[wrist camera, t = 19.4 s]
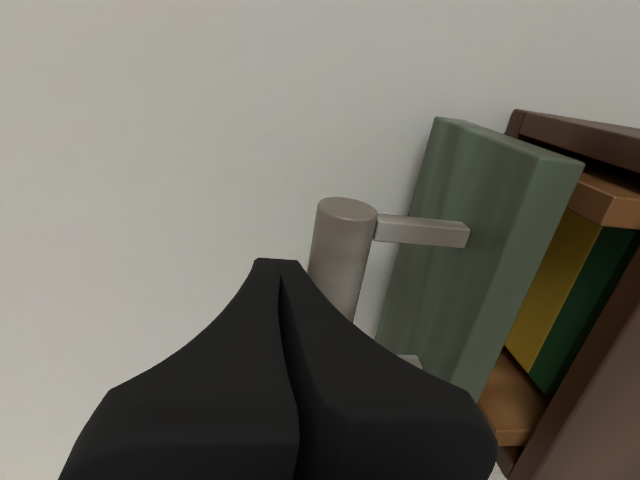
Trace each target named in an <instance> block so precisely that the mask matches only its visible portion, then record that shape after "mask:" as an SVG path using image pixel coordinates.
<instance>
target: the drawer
mask: <svg viewBox="0 0 640 480" xmlns="http://www.w3.org/2000/svg"><path fill="white" fill-rule="evenodd" d="M566 208H567V209H569V210H571V211H573V212H574V213H576V214H578V215H580V216H582V217H584V218H586V219H588V220H590V221H592V222H594V223H595V224H597V225H599V226H605V227H615V228H625V229H635V230H640V174H639V173H636V172H633V171H630V170H627V169H624V168H621V167H618V166H615V165H612V164H609V163H606V162H602V161H595V160H588V159H580V158H573V157H567V156H564V155H561V154H558V153H555V152H552V151H549V150H547V149H544V148H541V147H538V146H535V145H532V144H530V143H527V142H524V141H521V140H518V139H515V138H513V137H510V136H507V135H504V134H501V133H498V132H495V131H493V130H490V129H487V128H484V127H481V126H478V125H476V124H473V123H470V122H467V121H464V120H457V119H451V118H444V117H435V118H434V122H433V126H432V129H431V133H430V137H429V140H428V144H427V148H426V152H425V155H424V159H423V163H422V166H421V170H420V174H419V178H418V181H417V185H416V189H415V192H414V196H413V200H412V203H411V207H410V211H409V215H408V217H406V216H396V215H386V214H377V211H376V210H375V209H374V208H373V207H372V206H370V205H368V204H366V203H363V202H361V201H358V200H354V199H349V198H341V197H332V198H325V199H322V200H321V201H320V202H319V203H318V207H317V213H316V219H315V226H314V232H313V238H312V244H311V251H310V257H309V263H308V270H307V274H308V276H309V277H310V278H311V280H312V281H313V282H314V284H315V285H316V286H317V287H318V289H319V290H320V291H321V292H322V293H323V294H324V296H325V297H326V298H327V299H328V300H329V301H330V302H331V303H332V304H333V305H334V306H335V307H336V309H337V310H338V311H339V312H340V313H341V314H343V315H344V316H345V317H346V318H347V319H348V320H349V321H350V322H351V323H353V320H354V315H355V311H356V307H357V302H358V298H359V294H360V290H361V285H362V281H363V277H364V272H365V268H366V264H367V260H368V255H369V251H370V247H371V242H372V238H373V240H374V241H381V242H393V243H401V244H400V248H399V252H398V255H397V259H396V263H395V267H394V270H393V274H392V278H391V281H390V285H389V289H388V293H387V296H386V300H385V304H384V307H383V311H382V315H381V319H380V322H379V326H378V330H377V333H376V337H375V341H376V342H377V343H379V344H380V345H382V346H383V347H385V348H386V349H388V350H389V351H390V352H392V353H394V354H395V355H397V356H399V357H400V358H402V359H404V360H405V361H407V362H409V363H411V364H413V365H414V366H416V367H418V368H420V369H422V370H423V371H425V372H427V373H429V374H431V375H434V376H436V377H438V378H440V379H442V380H445V381H447V382H449V383H451V384H453V385H456V386H458V387H460V388H462V389H464V390H466V391H468V392H469V394H470V395H471V396H472V398H473V399H474V401H475V402H476V404H477V406H478V407H479V409H480V410H481V412H482V414H483V415H484V417H485V419H486V421H487V422H488V424H489V426H490V427H491V429H492V431H493V433H494V435H495V437H496V439H497V441H498V446H526V444H527V443H528V441H529V439H530V437H531V436H532V434H533V432H534V430H535V429H536V427H537V425H538V423H539V421H540V420H541V418H542V416H543V414H544V413H545V411H546V409H547V407H548V406H549V404H550V402H551V400H552V398H553V397H554V395H555V394H544V393H543V392H542V391H541V389H540V388H539V387H538V386H537V385H536V383H535V382H534V381H533V380H532V378H531V377H530V376H529V373H527V372H526V371H525V370H524V369H523V367H522V366H521V365H520V364H519V362H518V361H517V360H516V359H515V358H514V356H513V355H512V354H511V353H510V351H509V350H508V349H507V348H506V347H505V345H504V344H505V342H506V339H507V337H508V335H509V333H510V331H511V328H512V326H513V324H514V322H515V320H516V317H517V315H518V313H519V311H520V309H521V306H522V304H523V302H524V300H525V298H526V295H527V293H528V291H529V289H530V287H531V284H532V282H533V280H534V278H535V276H536V273H537V271H538V269H539V267H540V265H541V262H542V260H543V258H544V256H545V254H546V251H547V249H548V247H549V245H550V243H551V240H552V238H553V236H554V234H555V232H556V229H557V227H558V225H559V223H560V221H561V218H562V216H563V214H564V212H565V210H566Z"/></svg>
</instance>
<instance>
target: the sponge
mask: <svg viewBox="0 0 640 480" xmlns="http://www.w3.org/2000/svg"><path fill="white" fill-rule="evenodd" d="M639 245H640V230H635V229H625V228H615V227H605V226H599V225H597V224H595V223H594V222H592V221H590V220H588V219H586V218H584V217H582V216H580V215H578V214H576V213H574V212H573V211H571V210H569V209H567V208H566V210H565V212H564V214H563V216H562V218H561V221H560V223H559V225H558V227H557V229H556V232H555V234H554V236H553V238H552V240H551V243H550V245H549V247H548V249H547V251H546V254H545V256H544V258H543V260H542V262H541V265H540V267H539V269H538V271H537V273H536V276H535V278H534V280H533V282H532V284H531V287H530V289H529V291H528V293H527V295H526V298H525V300H524V302H523V304H522V306H521V309H520V311H519V313H518V315H517V317H516V320H515V322H514V324H513V326H512V328H511V331H510V333H509V335H508V337H507V339H506V342H505V344H504V345H505V347H506V348H507V349H508V350H509V351H510V353H511V354H512V355H513V356H514V358H515V359H516V360H517V361H518V362H519V364H520V365H521V366H522V367H523V369H524V370H525V371H526V372H527V373H529V376H530V377H531V378H532V380H533V381H534V382H535V383H536V385H537V386H538V387H539V388H540V389H541V391H542V392H543V393H544V394H555V393H556V391H557V390H558V388H559V386H560V384H561V383H562V381H563V379H564V377H565V376H566V374H567V372H568V370H569V368H570V367H571V365H572V363H573V361H574V360H575V358H576V356H577V354H578V353H579V351H580V349H581V347H582V346H583V344H584V342H585V340H586V338H587V337H588V335H589V333H590V331H591V330H592V328H593V326H594V324H595V323H596V321H597V319H598V317H599V316H600V314H601V312H602V310H603V308H604V307H605V305H606V303H607V301H608V300H609V298H610V296H611V294H612V293H613V291H614V289H615V287H616V286H617V284H618V282H619V280H620V278H621V277H622V275H623V273H624V271H625V270H626V268H627V266H628V264H629V263H630V261H631V259H632V257H633V255H634V254H635V252H636V250H637V248H638V247H639Z"/></svg>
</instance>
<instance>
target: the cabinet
mask: <svg viewBox="0 0 640 480" xmlns="http://www.w3.org/2000/svg"><path fill="white" fill-rule="evenodd" d="M505 135H507V136H510V137H513V138H515V139H518V140H521V141H524V142H527V143H530V144H532V145H535V146H538V147H541V148H544V149H547V150H549V151H552V152H555V153H558V154H561V155H564V156H567V157H573V158H580V159H588V160H595V161H602V162H606V163H609V164H612V165H615V166H618V167H621V168H624V169H627V170H630V171H633V172H636V173H639V174H640V129H638V128H632V127H625V126H619V125H613V124H607V123H600V122H594V121H588V120H582V119H575V118H569V117H563V116H557V115H550V114H544V113H538V112H532V111H525V110H519V109H515V110H514V111H513V114H512V117H511V120H510V122H509V125H508V128H507V131H506V134H505ZM496 462H497V464H498V466H499V468H500V469H501V471H502V473H503V475H504V477H505V478H507V480H640V245H639V247H638V248H637V250H636V252H635V254H634V255H633V257H632V259H631V261H630V263H629V264H628V266H627V268H626V270H625V271H624V273H623V275H622V277H621V278H620V280H619V282H618V284H617V286H616V287H615V289H614V291H613V293H612V294H611V296H610V298H609V300H608V301H607V303H606V305H605V307H604V308H603V310H602V312H601V314H600V316H599V317H598V319H597V321H596V323H595V324H594V326H593V328H592V330H591V331H590V333H589V335H588V337H587V338H586V340H585V342H584V344H583V346H582V347H581V349H580V351H579V353H578V354H577V356H576V358H575V360H574V361H573V363H572V365H571V367H570V368H569V370H568V372H567V374H566V376H565V377H564V379H563V381H562V383H561V384H560V386H559V388H558V390H557V391H556V393H555V395H554V397H553V398H552V400H551V402H550V404H549V406H548V407H547V409H546V411H545V413H544V414H543V416H542V418H541V420H540V421H539V423H538V425H537V427H536V429H535V430H534V432H533V434H532V436H531V437H530V439H529V441H528V443H527V444H526V446H498V456H497V459H496Z"/></svg>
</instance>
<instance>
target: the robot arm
mask: <svg viewBox="0 0 640 480" xmlns="http://www.w3.org/2000/svg"><path fill="white" fill-rule="evenodd" d="M497 456H498V441H497V439H496V437H495V435H494V433H493V431H492V429H491V427H490V426H489V424H488V422H487V421H486V419H485V417H484V415H483V414H482V412H481V410H480V409H479V407H478V406H477V404H476V402H475V401H474V399H473V398H472V396H471V395H470V394H469V392H468V391H466V390H464V389H462V388H460V387H458V386H456V385H453V384H451V383H449V382H447V381H445V380H442V379H440V378H438V377H436V376H434V375H431V374H429V373H427V372H425V371H423V370H422V369H420V368H418V367H416V366H414V365H413V364H411V363H409V362H407V361H405V360H404V359H402V358H400V357H399V356H397V355H395V354H394V353H392V352H390V351H389V350H388V349H386V348H385V347H383V346H382V345H380V344H379V343H377V342H376V341H374V340H373V339H371V338H370V337H369V336H367V335H366V334H365V333H364V332H362V331H361V330H360V329H359V328H357V327H356V326H355V325H354V324H353V323H351V322H350V321H349V320H348V319H347V318H346V317H345V316H344V315H343V314H341V313H340V312H339V311H338V310H337V309H336V307H335V306H334V305H333V304H332V303H331V302H330V301H329V300H328V299H327V298H326V297H325V296H324V294H323V293H322V292H321V291H320V290H319V289H318V287H317V286H316V285H315V284H314V282H313V281H312V280H311V278H310V277H309V276H308V274H307V273H306V272H305V270H304V269H303V267H302V266H301V265H300V263H299V262H298V261H297V260H285V259H270V258H257V259H256V260H254V264H253V267H252V269H251V271H250V273H249V275H248V277H247V279H246V280H245V282H244V283H243V285H242V286H241V288H240V289H239V291H238V292H237V294H236V295H235V296H234V298H233V299H232V300H231V301H230V303H229V304H228V305H227V306H226V308H225V309H224V310H223V311H222V312H221V313H220V314H219V315H218V316H217V317H216V319H215V320H214V321H212V322H211V323H210V324H209V325H208V326H207V327H206V328H205V329H204V330H203V331H202V332H201V333H199V334H198V335H197V336H196V337H195V338H194V339H193V340H191V341H190V342H189V343H188V344H186V345H185V346H184V347H182V348H181V349H180V350H178V351H177V352H175V353H174V354H172V355H171V356H169V357H168V358H166V359H165V360H164V361H162V362H161V363H159V364H157V365H156V366H154V367H152V368H151V369H149V370H147V371H145V372H143V373H141V374H139V375H137V376H136V377H134V378H132V379H130V380H128V381H126V382H124V383H122V384H120V385H118V386H116V387H114V388H112V389H110V390H109V391H108V393H107V394H106V395H105V397H104V398H103V399H102V401H101V402H100V404H99V405H98V407H97V408H96V410H95V411H94V412H93V414H92V416H91V417H90V419H89V421H88V422H87V423H86V425H85V426H84V428H83V430H82V431H81V433H80V435H79V437H78V438H77V440H76V442H75V444H74V446H73V448H72V451H71V453H70V455H69V457H68V459H67V461H66V464H65V466H64V468H63V470H62V472H61V474H60V476H59V479H58V480H488V478H489V476H490V474H491V472H492V470H493V468H494V465H495V462H496V459H497Z"/></svg>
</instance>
